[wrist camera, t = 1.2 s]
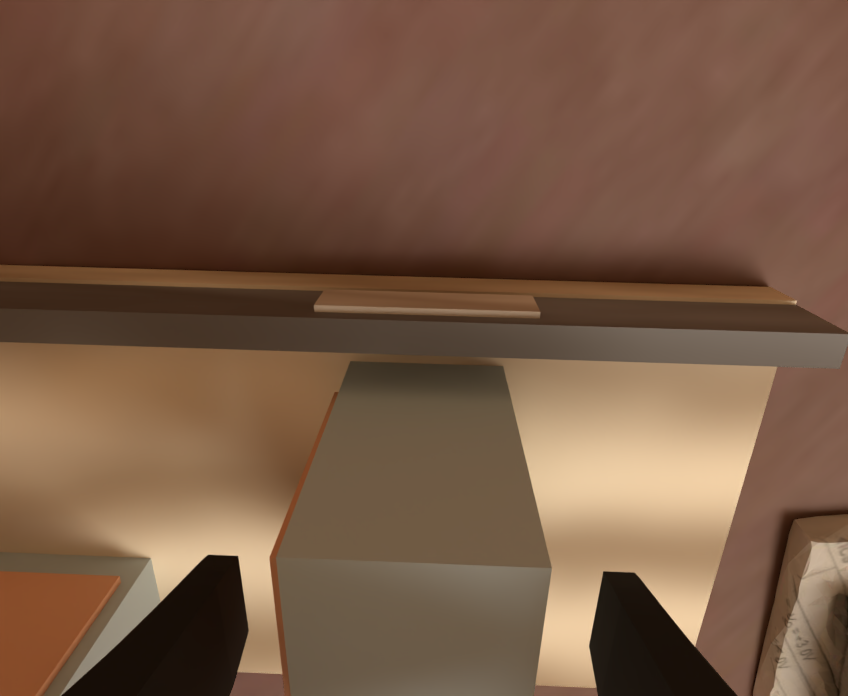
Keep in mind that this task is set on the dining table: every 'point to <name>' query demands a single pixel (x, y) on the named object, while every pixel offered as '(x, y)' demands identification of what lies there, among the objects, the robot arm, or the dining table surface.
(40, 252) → the dining table surface
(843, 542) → the packaged product
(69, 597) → the faced carton
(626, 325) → the shelf board
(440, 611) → the turn carton
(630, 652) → the robot arm
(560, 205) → the dining table surface
